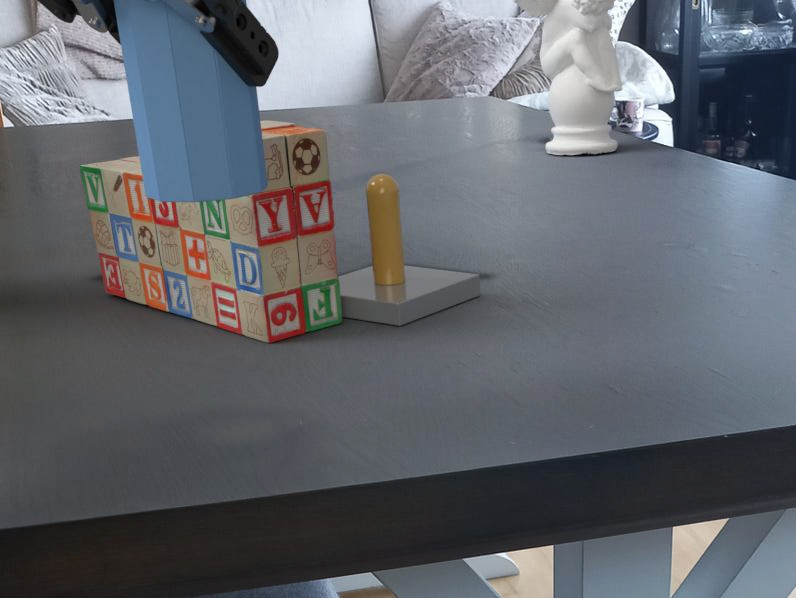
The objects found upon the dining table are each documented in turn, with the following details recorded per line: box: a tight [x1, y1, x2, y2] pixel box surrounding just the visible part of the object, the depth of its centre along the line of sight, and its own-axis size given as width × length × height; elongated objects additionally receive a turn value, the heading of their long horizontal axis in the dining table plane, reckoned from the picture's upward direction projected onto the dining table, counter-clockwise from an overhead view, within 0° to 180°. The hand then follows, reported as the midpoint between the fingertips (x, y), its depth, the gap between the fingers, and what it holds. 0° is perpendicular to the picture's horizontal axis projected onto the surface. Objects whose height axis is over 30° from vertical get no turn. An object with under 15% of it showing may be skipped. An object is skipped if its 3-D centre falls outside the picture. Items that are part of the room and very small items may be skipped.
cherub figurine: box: [513, 0, 623, 156], centre depth 140 cm, size 12×12×22 cm
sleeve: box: [114, 0, 268, 202], centre depth 56 cm, size 6×6×9 cm
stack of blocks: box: [79, 119, 343, 344], centre depth 83 cm, size 21×6×12 cm, turn 44°
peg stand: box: [337, 173, 481, 327], centre depth 83 cm, size 9×9×9 cm
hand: (218, 69), depth 57 cm, fingers closed on sleeve, 5 cm apart
